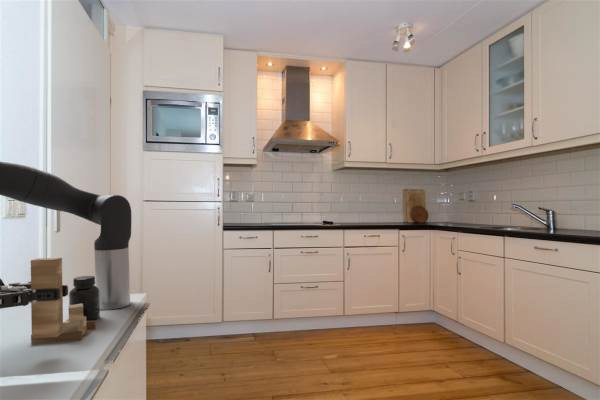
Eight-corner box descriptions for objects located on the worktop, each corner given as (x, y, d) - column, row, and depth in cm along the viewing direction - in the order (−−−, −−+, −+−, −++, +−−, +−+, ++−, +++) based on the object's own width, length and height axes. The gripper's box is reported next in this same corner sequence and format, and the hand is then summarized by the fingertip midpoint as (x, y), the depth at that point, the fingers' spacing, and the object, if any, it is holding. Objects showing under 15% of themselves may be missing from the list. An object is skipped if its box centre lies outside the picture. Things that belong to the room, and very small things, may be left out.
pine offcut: (71, 332, 88) (71, 317, 88) (86, 331, 88) (86, 316, 88) (63, 338, 84) (62, 322, 84) (78, 337, 84) (78, 321, 84)
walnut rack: (51, 336, 90) (50, 323, 90) (96, 333, 91) (95, 320, 91) (31, 349, 82) (30, 335, 82) (81, 345, 83) (80, 331, 83)
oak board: (38, 333, 76) (37, 258, 77) (63, 332, 77) (62, 257, 77) (31, 338, 74) (30, 260, 74) (56, 336, 74) (55, 259, 75)
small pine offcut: (68, 318, 87) (68, 305, 87) (82, 316, 89) (82, 303, 89) (68, 322, 84) (68, 308, 84) (83, 319, 86) (83, 306, 86)
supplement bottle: (65, 330, 94) (64, 281, 94) (74, 321, 101) (72, 276, 101) (96, 326, 96) (95, 278, 96) (103, 318, 102) (101, 273, 102)
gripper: (-63, 284, 67) (44, 280, 69) (-8, 270, 81) (79, 267, 83) (-62, 327, 67) (44, 322, 69) (-8, 306, 81) (79, 302, 83)
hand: (63, 292), depth 76 cm, fingers closed on oak board, 2 cm apart
